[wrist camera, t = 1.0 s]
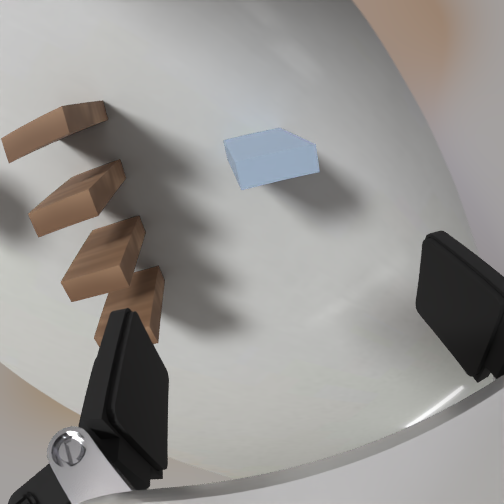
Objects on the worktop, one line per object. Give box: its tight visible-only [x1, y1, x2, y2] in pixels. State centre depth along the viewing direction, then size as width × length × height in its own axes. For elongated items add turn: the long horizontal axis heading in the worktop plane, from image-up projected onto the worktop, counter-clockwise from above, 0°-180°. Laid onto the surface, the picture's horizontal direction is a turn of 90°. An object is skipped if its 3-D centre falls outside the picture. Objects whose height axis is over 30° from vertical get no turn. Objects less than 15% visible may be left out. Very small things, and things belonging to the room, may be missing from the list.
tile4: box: [61, 216, 146, 302], centre depth 24 cm, size 2×5×9 cm, turn 102°
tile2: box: [1, 101, 108, 163], centre depth 19 cm, size 2×5×9 cm, turn 102°
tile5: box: [94, 266, 165, 347], centre depth 27 cm, size 2×5×9 cm, turn 102°
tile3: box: [28, 159, 126, 237], centre depth 22 cm, size 2×5×9 cm, turn 102°
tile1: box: [223, 128, 320, 190], centre depth 23 cm, size 2×5×9 cm, turn 102°
